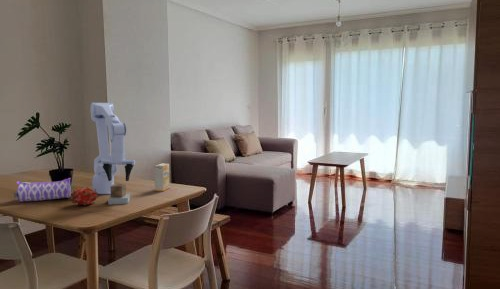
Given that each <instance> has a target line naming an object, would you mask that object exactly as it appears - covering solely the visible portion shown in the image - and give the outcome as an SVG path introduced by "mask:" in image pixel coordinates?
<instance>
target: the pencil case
mask: <svg viewBox="0 0 500 289" xmlns="http://www.w3.org/2000/svg"><path fill="white" fill-rule="evenodd" d="M71 179H72V177H68V178H64V179H63V180H57V181H46V182H45V181H43V182H26V181H25V182H24V181H21V182H20V181H19V180H18V181H16V185H18V186H17V190H16V192H14V193H13V194H14V197H13V198H17V201H18V202H20V203H23V202H24V203H25V202H35V201H37V202H38V201H39V202H40V201H45V200H47V201H48V200H56V199H66V198H67V199H68V198H70V197H71V194H72V187H71Z"/></svg>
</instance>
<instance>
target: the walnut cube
mask: <svg viewBox="0 0 500 289" xmlns="http://www.w3.org/2000/svg"><path fill="white" fill-rule="evenodd" d="M126 186H127V185H126V183H114V184H113V185H112V186H110V188H111V194H110V196H111V197H123V196H125V195H126V194H127V191H126V190H127V189H126Z"/></svg>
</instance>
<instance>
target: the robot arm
mask: <svg viewBox="0 0 500 289" xmlns="http://www.w3.org/2000/svg"><path fill="white" fill-rule="evenodd" d="M114 106H115V105H114V104H113V102H91V104H90V106H89V108H90V109H89V110H90V118H91V121H93V122H94V123H95V126H96V135H97V143H98V144H97V145H98V152H99V153H98V154H99V155H98V156H96V157H95V158H94V160H93V171H94V175H93V176H92V179H91V180H92V181H91V182H92V190H94V191H96V192H97V193H98V194H99V195H111V188H110V186H112V185H113V184H115V178H114V177H115V174H117V171H118V165H119V166H120V165H124V169H125V170H124V171H125V182H129V181H130V175H131V172H132V170H133V167H134V166H135V165H136V160H135V159H126V150H125V148H126V146H125V136H126V134H127V126H126V123H125V122H121V121H120V119H119V117H118V116H117V115H116V114H114V112H115V107H114ZM107 127H108V128H107ZM109 141H110V144H109ZM109 145H110V146H109Z"/></svg>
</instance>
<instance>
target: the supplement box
mask: <svg viewBox="0 0 500 289" xmlns="http://www.w3.org/2000/svg"><path fill="white" fill-rule="evenodd" d="M170 184H171V183H170V163H159V164H157V165H156V164H155V165H154V191H155V192H165V191H166V190H168V189H170V188H171V187H170Z"/></svg>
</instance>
